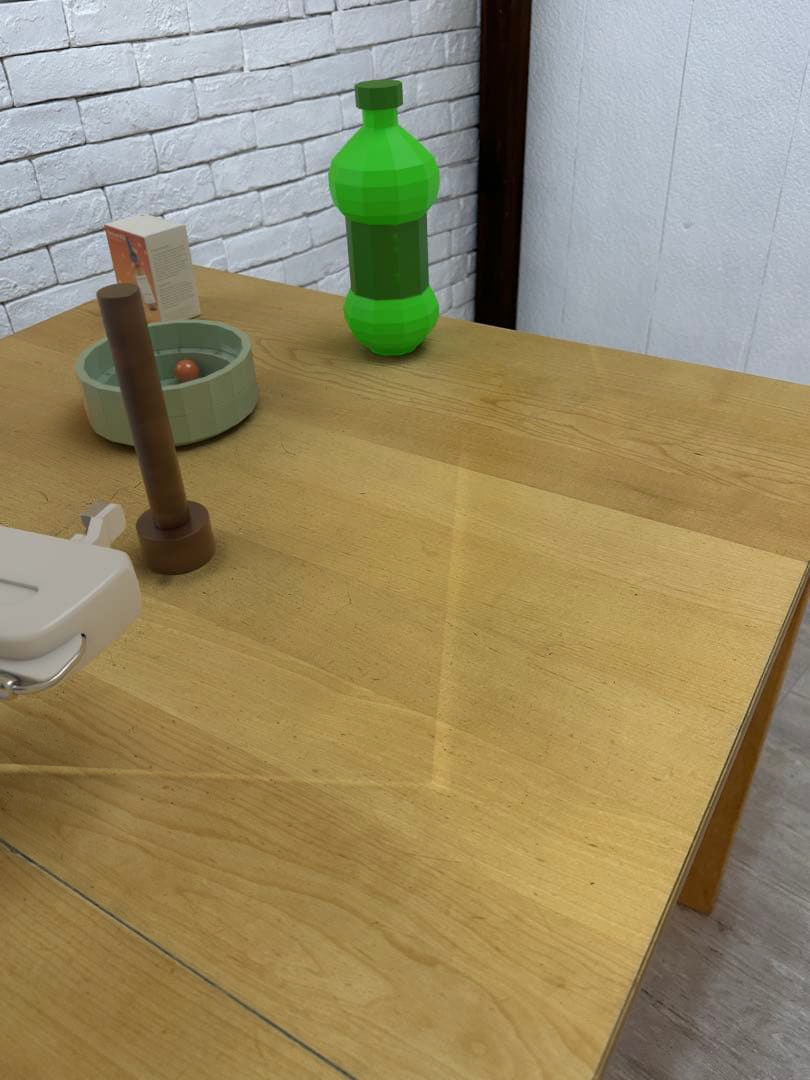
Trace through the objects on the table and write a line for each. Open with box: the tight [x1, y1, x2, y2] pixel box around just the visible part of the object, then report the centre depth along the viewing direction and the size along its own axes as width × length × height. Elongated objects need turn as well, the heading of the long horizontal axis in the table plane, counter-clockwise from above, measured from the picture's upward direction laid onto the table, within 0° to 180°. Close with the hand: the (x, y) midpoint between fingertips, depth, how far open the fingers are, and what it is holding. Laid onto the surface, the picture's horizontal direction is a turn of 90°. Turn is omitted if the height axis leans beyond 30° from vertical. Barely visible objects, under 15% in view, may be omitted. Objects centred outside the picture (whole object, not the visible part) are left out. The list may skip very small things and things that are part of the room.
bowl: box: [74, 319, 260, 448], centre depth 84 cm, size 16×16×6 cm
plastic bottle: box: [327, 78, 441, 357], centre depth 88 cm, size 10×10×25 cm
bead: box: [174, 359, 199, 383], centre depth 88 cm, size 2×2×2 cm
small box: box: [103, 212, 202, 323], centre depth 102 cm, size 8×6×10 cm
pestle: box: [95, 283, 217, 575], centre depth 61 cm, size 5×5×20 cm
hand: (45, 499), depth 52 cm, fingers open, 8 cm apart
